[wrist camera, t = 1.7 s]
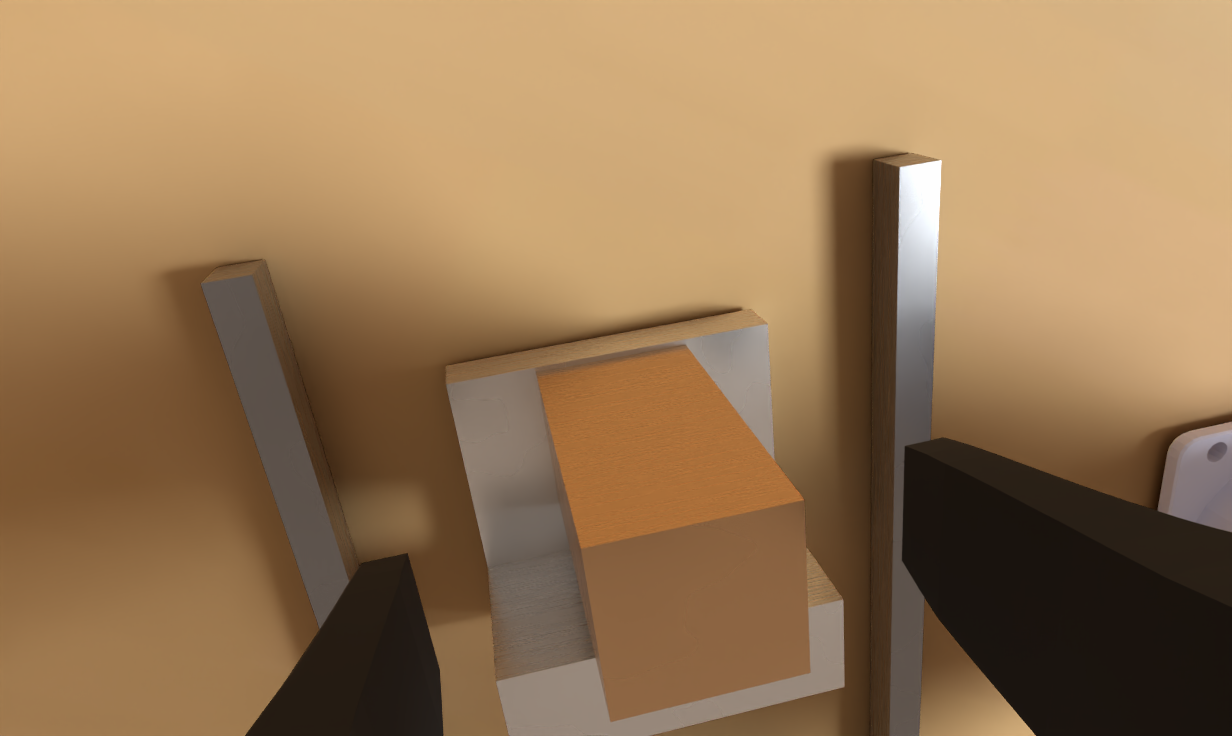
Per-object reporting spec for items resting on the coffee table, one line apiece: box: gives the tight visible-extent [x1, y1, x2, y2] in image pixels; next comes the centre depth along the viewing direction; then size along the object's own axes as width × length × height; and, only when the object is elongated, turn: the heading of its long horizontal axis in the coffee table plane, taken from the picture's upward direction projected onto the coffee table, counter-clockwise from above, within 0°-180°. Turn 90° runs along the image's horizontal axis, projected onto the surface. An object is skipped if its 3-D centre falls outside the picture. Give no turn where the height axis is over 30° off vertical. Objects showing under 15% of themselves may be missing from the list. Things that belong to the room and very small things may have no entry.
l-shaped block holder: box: [446, 309, 844, 736], centre depth 14 cm, size 6×6×6 cm
